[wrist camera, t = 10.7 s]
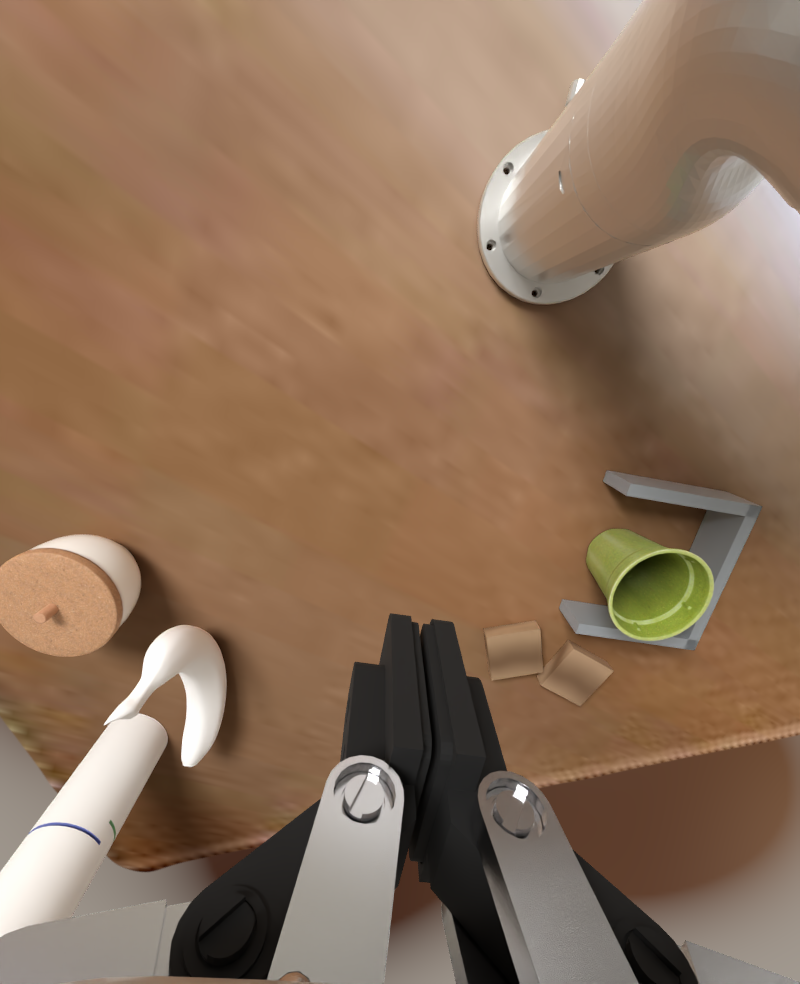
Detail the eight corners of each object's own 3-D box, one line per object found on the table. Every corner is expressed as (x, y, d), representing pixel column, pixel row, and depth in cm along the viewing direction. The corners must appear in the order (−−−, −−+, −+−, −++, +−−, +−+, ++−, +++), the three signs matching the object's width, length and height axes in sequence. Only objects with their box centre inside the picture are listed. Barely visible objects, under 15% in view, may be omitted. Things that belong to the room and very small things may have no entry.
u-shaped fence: (606, 470, 44) (630, 483, 39) (726, 491, 45) (762, 506, 40) (559, 608, 49) (575, 633, 44) (667, 624, 50) (694, 650, 45)
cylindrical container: (143, 704, 51) (-69, 1012, 27) (179, 744, 53) (13, 1063, 29) (94, 727, 52) (-151, 1046, 28) (132, 765, 54) (-66, 1092, 30)
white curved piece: (200, 728, 52) (133, 865, 39) (173, 592, 46) (83, 696, 33) (241, 727, 53) (189, 863, 39) (219, 591, 47) (148, 694, 33)
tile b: (566, 637, 50) (573, 648, 49) (605, 659, 52) (613, 671, 50) (535, 673, 52) (540, 685, 50) (573, 693, 53) (580, 706, 51)
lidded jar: (97, 623, 47) (30, 687, 39) (31, 544, 44) (-58, 593, 35) (180, 586, 46) (131, 642, 37) (118, 501, 43) (49, 541, 34)
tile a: (482, 626, 50) (486, 637, 48) (534, 618, 49) (540, 628, 48) (487, 668, 51) (491, 680, 50) (537, 660, 51) (543, 672, 49)
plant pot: (673, 552, 47) (734, 595, 39) (604, 606, 49) (648, 659, 41) (622, 495, 45) (676, 528, 36) (552, 555, 46) (588, 599, 38)
